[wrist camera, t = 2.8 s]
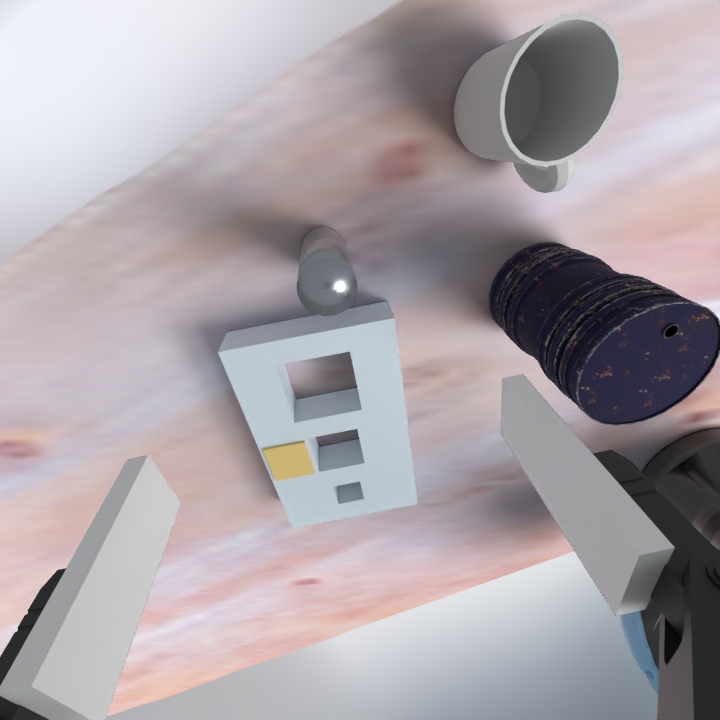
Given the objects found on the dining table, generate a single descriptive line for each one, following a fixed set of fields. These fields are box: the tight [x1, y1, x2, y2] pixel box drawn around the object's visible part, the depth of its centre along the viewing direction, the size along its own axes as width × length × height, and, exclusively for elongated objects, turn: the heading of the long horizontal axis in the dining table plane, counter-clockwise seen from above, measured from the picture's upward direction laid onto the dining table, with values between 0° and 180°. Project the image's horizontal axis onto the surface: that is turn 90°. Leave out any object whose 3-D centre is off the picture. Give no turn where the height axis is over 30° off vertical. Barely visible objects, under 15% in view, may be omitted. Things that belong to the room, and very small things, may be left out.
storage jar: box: [489, 242, 720, 425], centre depth 31 cm, size 10×10×15 cm
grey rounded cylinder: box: [297, 227, 357, 316], centre depth 29 cm, size 4×4×10 cm
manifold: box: [218, 301, 418, 529], centre depth 41 cm, size 16×26×4 cm, turn 9°
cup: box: [454, 13, 623, 193], centre depth 26 cm, size 7×10×9 cm
